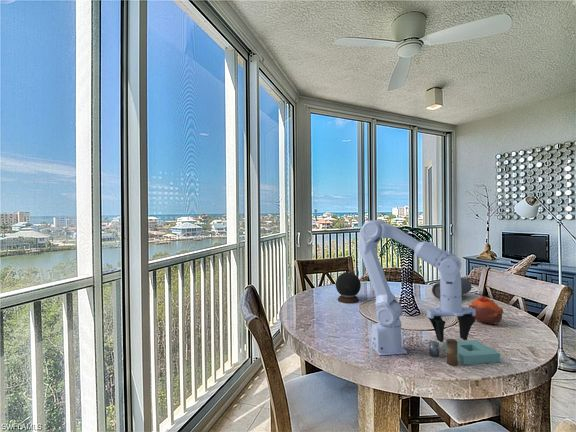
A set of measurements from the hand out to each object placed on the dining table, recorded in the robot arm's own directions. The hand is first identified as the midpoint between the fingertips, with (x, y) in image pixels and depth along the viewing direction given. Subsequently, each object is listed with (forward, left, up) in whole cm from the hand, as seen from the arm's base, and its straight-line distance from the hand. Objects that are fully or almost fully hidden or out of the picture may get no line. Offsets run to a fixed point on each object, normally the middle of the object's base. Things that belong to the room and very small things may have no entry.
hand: (451, 339), depth 92 cm
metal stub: (-2, +6, -7) cm, 10 cm away
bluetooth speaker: (+45, +65, -8) cm, 79 cm away
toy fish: (+35, +29, -8) cm, 46 cm away
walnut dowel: (0, 0, -7) cm, 7 cm away
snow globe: (-10, +71, -8) cm, 72 cm away
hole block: (+9, +4, -7) cm, 12 cm away
